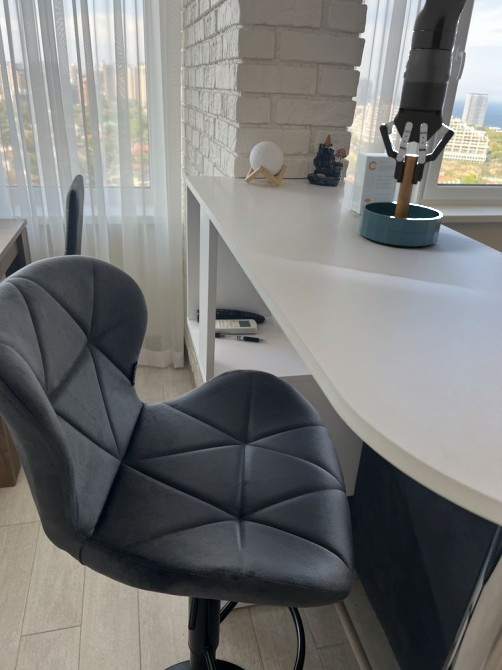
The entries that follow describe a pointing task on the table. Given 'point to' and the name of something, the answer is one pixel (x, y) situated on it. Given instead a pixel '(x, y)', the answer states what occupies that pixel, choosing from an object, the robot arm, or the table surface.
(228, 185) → the table surface
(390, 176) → the small box
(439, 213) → the bowl
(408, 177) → the wooden stick
